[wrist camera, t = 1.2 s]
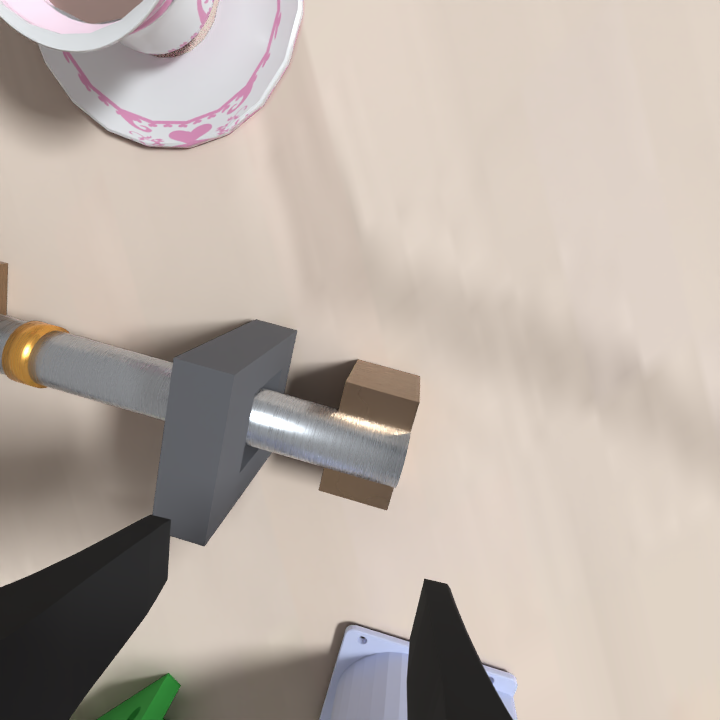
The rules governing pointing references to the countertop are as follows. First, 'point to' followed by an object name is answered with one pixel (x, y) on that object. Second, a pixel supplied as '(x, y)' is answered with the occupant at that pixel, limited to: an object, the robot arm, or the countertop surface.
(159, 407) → the pipe rig
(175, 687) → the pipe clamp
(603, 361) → the countertop surface
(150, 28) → the teacup
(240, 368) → the collar
